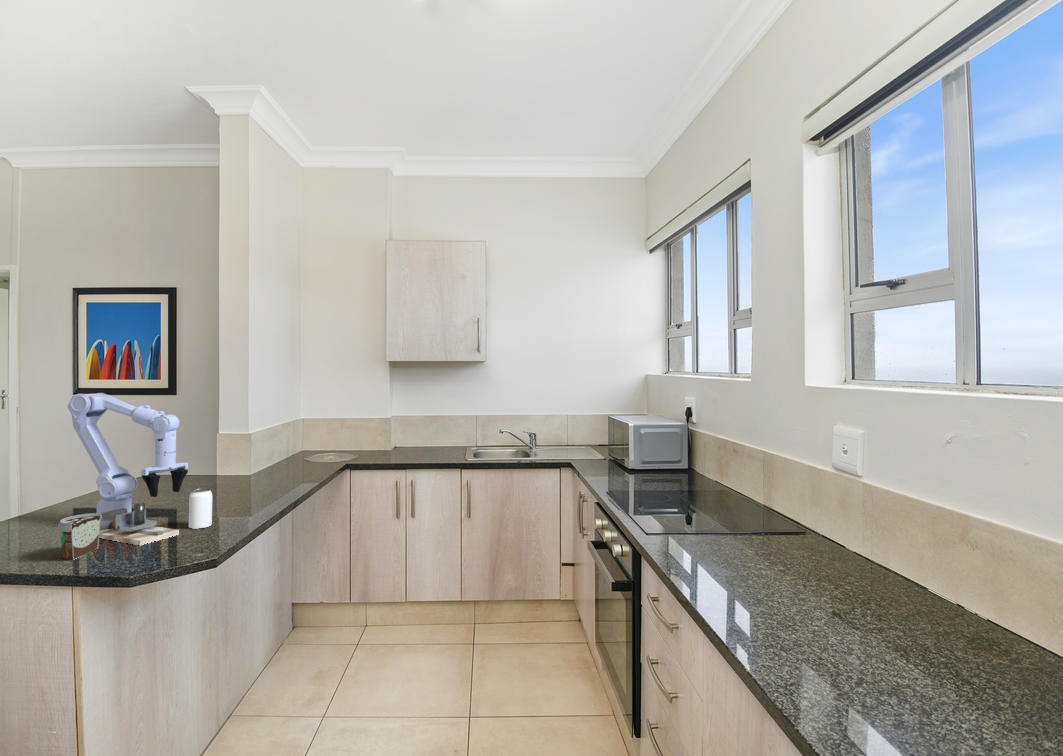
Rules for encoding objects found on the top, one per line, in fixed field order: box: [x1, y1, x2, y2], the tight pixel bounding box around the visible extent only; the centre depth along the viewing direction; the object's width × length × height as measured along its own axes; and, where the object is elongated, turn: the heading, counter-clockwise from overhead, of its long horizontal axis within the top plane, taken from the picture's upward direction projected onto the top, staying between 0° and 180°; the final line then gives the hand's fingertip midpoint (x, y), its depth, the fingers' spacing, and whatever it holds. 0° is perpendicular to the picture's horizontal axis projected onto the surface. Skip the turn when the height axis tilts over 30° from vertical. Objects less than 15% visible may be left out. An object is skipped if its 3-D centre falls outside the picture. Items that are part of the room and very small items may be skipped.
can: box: [188, 487, 213, 530], centre depth 179 cm, size 6×6×12 cm
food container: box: [56, 512, 102, 561], centre depth 149 cm, size 12×6×10 cm, turn 5°
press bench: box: [99, 508, 180, 547], centre depth 167 cm, size 22×12×6 cm, turn 71°
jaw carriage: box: [116, 502, 158, 532], centre depth 167 cm, size 6×8×7 cm
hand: (165, 494), depth 178 cm, fingers open, 7 cm apart
